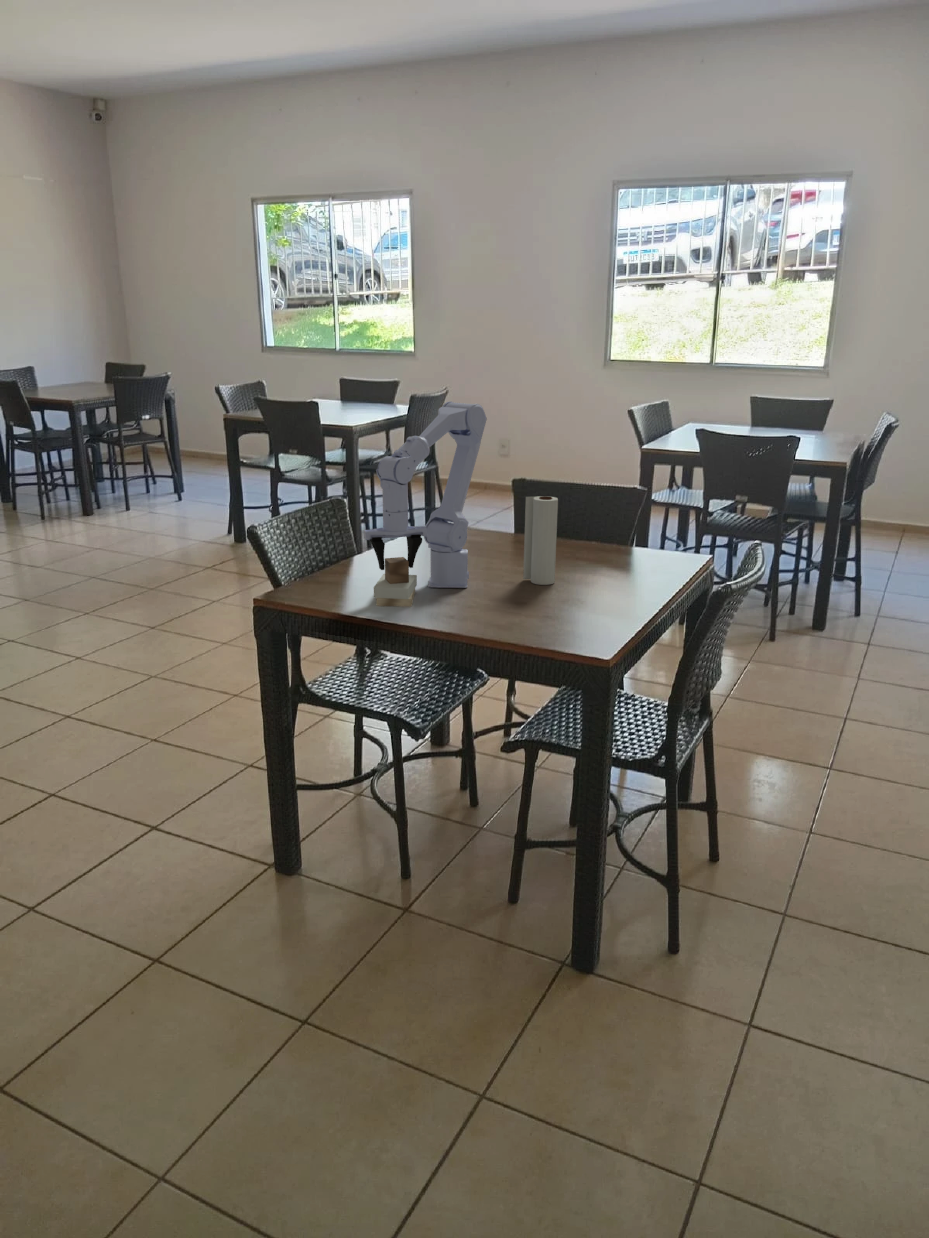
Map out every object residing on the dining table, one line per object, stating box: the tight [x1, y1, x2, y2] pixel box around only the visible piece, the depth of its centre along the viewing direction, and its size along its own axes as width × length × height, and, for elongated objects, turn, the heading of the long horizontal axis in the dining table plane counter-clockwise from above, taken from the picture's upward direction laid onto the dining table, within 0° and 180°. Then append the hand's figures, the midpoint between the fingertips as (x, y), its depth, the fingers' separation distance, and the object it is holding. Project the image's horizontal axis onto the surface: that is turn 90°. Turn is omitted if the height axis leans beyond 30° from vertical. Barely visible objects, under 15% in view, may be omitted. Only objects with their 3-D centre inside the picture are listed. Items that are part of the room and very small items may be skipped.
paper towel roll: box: [522, 495, 559, 586], centre depth 227 cm, size 7×6×21 cm
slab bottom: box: [375, 588, 416, 607], centre depth 216 cm, size 8×12×2 cm, turn 179°
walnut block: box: [384, 556, 410, 584], centre depth 214 cm, size 4×4×5 cm
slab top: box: [373, 573, 418, 599], centre depth 215 cm, size 8×12×2 cm, turn 174°
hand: (396, 567), depth 213 cm, fingers open, 6 cm apart
